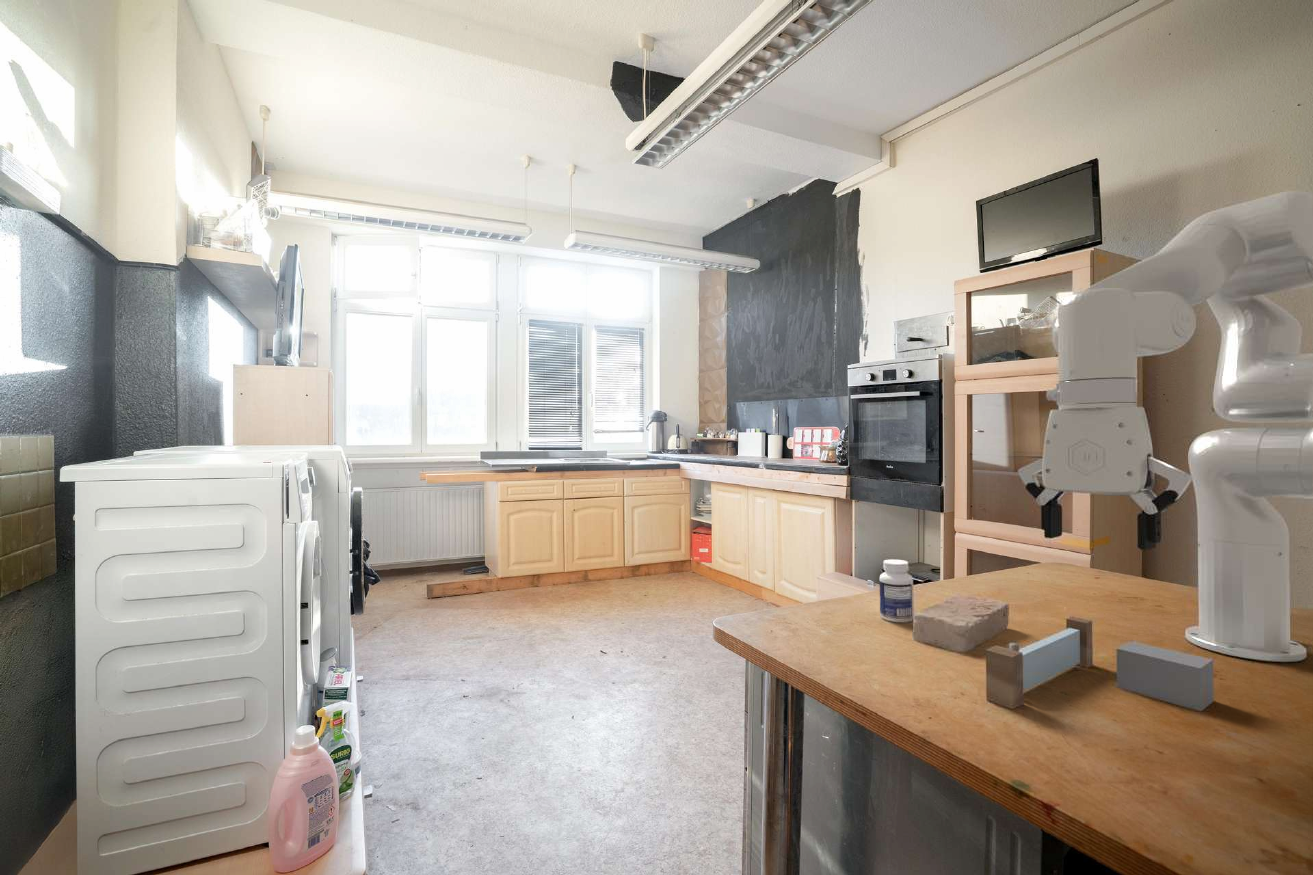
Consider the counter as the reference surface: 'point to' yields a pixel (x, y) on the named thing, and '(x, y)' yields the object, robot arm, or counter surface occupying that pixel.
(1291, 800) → the counter surface
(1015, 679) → the brown wooden block
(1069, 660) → the door
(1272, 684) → the counter surface
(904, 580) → the pill bottle
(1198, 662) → the block
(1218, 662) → the counter surface
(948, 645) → the brick
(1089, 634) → the block
